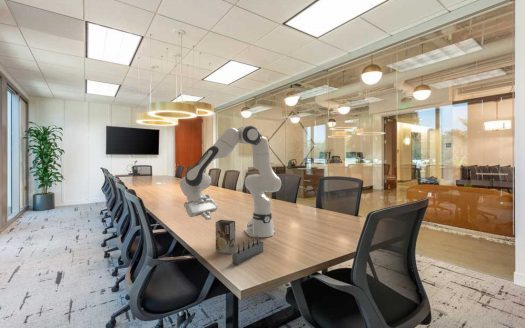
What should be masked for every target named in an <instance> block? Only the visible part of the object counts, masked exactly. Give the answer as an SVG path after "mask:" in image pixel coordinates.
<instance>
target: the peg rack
mask: <svg viewBox="0 0 525 328" xmlns="http://www.w3.org/2000/svg"><path fill="white" fill-rule="evenodd" d="M250 240H251V241H252V244H251V243H250V242H251V241H250ZM263 252H264V241H260V237H259V235H257V237H256V242H255V237H252V239H250V238H249V239H247V246H246V241H243V242H242V248H241V244H240V243H237V251H234V252H232V253H231V254H232V255H231V260H232V261H231V263H232V265H234V266H239V265H241V264H243V263H245V262H246V261H249V260H250V259H252V258H254V257H256V256H257V255H259V254H261V253H263Z"/></svg>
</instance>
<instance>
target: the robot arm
mask: <svg viewBox="0 0 525 328" xmlns="http://www.w3.org/2000/svg"><path fill="white" fill-rule="evenodd" d="M239 143H241V144H245V145H250V146H251V150H252V151H251V152H252V167H254V169H256V170H257V171H258V172H259V174H255V173H253V174H249V175H247V176H246V178H244V185H245V188H246V189H247V190H248V191H249V193H250V195H251V196H252V199H253V212H252V218H251V219H250V220H249V221H248V222H247V226H246V227H245V228H244V229H243V231H244V233H246V234H247V235H248V236H249V237H252V238H253V237H254V238H257V235H259V238H269V237H271V236H272V237H273V236H274V234H275V233H276V230H274V229H275V228H274V220H273V214H272V201H271V199H270V198H269V197H268V196H267V195H266V194H265V193H275V192H279V191H280V189H281V188H282V179H281V178H280V177H279V176H278V175H277V174H276V173H275V172H274V170H273V168H272V164H271V156H270V155H271V154H270V146H269V141H268V138H267V137H266V136H263V135H262V134H261V132H260V130H259V129H258V128H257V127H256V126H253V125H244V126H241V127H239V128H238V129H237V128H235V127H231V126H230V127H227V128H226V129H224V131H223V132H222V133H221V134H220V135H219V137H218V138H217V140H216V141H215V143H214V144H213V145H211V146H210V147H209V148H208V149H207V150H206V151H205V152H204V153H203V154H202V156H200V158H199V159H198V160H197V161H196V163H195V164H194V165H193V166H192V167H190V168H189V169H188V170H186V173H185V175H184V176H183V177H182V178H181V179H180V181H179V187H180V189H181V192H182V193H183V196H185V197H186V199H187V201H185V202H184V204H183V207H184V208H185V212H186V213H187V215H188V217H190V218H194V217H198V216H201V217H202V218H204V219H205V221H210V220H212V216H211V213H215V212H216V211H217V210H218V205H217V203H216V202H215V200H214V199H213V198H212V196H211V194H206V193H203V191H204V190H207V189H208V188H209V187H210V186H211V183H212V177H211V176H210V175H209V174H208V173H206V172H205V171H206V169H208V168H209V166H210V165H211V163H212V162H213V161H214V160H216V159H225V158H228V157H229V156H230V155H231V154H232V152H233V150H234V149H235V147H236V145H238V144H239Z"/></svg>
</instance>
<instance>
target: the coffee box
mask: <svg viewBox="0 0 525 328" xmlns="http://www.w3.org/2000/svg"><path fill="white" fill-rule="evenodd" d="M215 252H216V253H222V254H230V255H231V254H233V253H235V252H236V221H235V220H229V219H219V220H217V221H216V222H215Z"/></svg>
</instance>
